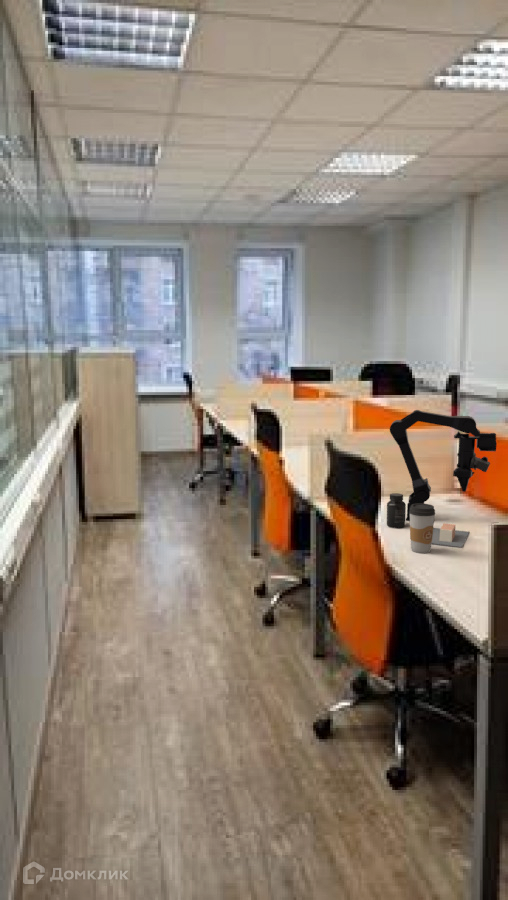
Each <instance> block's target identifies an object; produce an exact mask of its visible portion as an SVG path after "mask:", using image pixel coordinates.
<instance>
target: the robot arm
mask: <svg viewBox="0 0 508 900" xmlns="http://www.w3.org/2000/svg"><path fill="white" fill-rule="evenodd" d="M418 422H420V423H427V424H433V425H437V426H444V427H447V428H452V429H454V430H457V433H455V434H454V435H453V438H454V439H458V450H457V451H458V452H457V454H456V455H457V456H456V457H457V464H456V468H455V469H454V470H453V472H452V475H453V476H452V477H456V478H457V480H458V483H459V485H460V489H461V490H462V492H464V493H465V492H467V489H468V485H469V482H470V478H472V477H473V476H474V475H475V471H476V470H480V471H481V472H483V473H487V472H488V469H489V467H490V465H491V462H490V461H489V457H488V456H483V457H482V458H481V457H477V455H476V452H475V446H476V449H478V450H479V452H496V451H497V433H496V432H481V431H480V429H478V427H477V422H476V420H475V418H474V417H473V416H471V415H454V416H452V415H446V414H439V413H434V412H430V411H429V412H428V411H422V410H419V409H415V410H413V411H412V412H411V413H409V414H408V415H405V416H404V417H402V419H395V420H394V421H392V423H391V424H390V427H389V432H390V435H391V436H392V437H393V440H394V442H396V444H397V445H398V446H399V449H400V452H401V455H402V459H403V460H404V464H405V465H406V469H407V472H408V474H409V476H410V479H411V483H412V489H413V490H412V491H413V492H412V493H410V494H409V495H408V503H407V505H406V509H407V510H406V517H405V521H409V522H410V513H409V511H410V508H411V505H412V504H417V503H423V504H426V503H425V502H427V501H428V500H429V499H430V497H431V491H432V486H430V484H429V480H428V479H429V478H425V479H424V477H423V476H422V474H421V471H420V469H419V466H418V464H417V461H416V459H415V456H414V453H413V450H412V448H411V445H410V442H409V437H408V429H410V427H412V426H413V425H415V424H416V423H418ZM461 432H462V433H461ZM470 434H471V435H472V436H471V435H470ZM473 469H474V471H473Z"/></svg>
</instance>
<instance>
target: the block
mask: <svg viewBox="0 0 508 900" xmlns="http://www.w3.org/2000/svg"><path fill="white" fill-rule="evenodd" d="M455 530H456V524H453V523H452V524H451V523H443V524H442V526H441V527H440V541H447V542H452V540H453V538H454V537H455Z"/></svg>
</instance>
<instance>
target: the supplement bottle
mask: <svg viewBox="0 0 508 900" xmlns="http://www.w3.org/2000/svg"><path fill="white" fill-rule="evenodd" d="M403 500H404V494H403V493H396V492H395V493H390V494H389V501H388V502H387V503H386V526H387V527H389V528H391V529H401V528H405V526H406V515H407V510H406V509H407V505H406V503H405V501H403Z"/></svg>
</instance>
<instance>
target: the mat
mask: <svg viewBox="0 0 508 900" xmlns="http://www.w3.org/2000/svg"><path fill="white" fill-rule="evenodd" d="M440 529H441V527H440V528H439V527H434V528H433V536H432V543H431V545H435V546H444V547H449V548H458V549H462V548H463V546H464V544H465V543H466V540H467V538H468V537H469V535H470V531H465V530H457V529H455V537H454V538H453V540H452V542H447V541H440Z"/></svg>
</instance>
